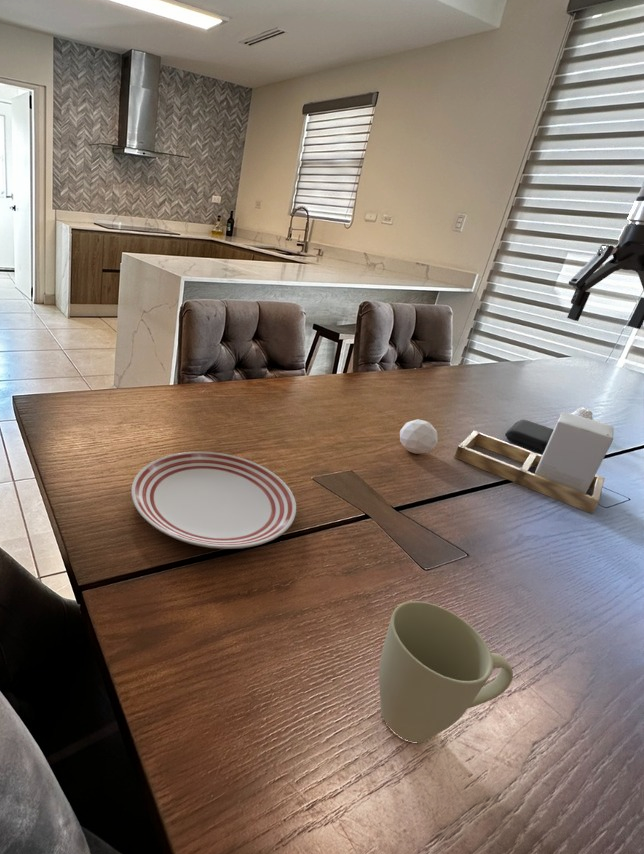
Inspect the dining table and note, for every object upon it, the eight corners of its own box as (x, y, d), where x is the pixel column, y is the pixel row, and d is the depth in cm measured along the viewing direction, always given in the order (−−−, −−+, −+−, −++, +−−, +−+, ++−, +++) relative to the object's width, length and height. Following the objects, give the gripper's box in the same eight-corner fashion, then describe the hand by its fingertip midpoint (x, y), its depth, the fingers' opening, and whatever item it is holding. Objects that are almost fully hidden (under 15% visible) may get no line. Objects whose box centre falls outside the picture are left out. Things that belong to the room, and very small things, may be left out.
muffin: (559, 429, 130) (570, 406, 127) (564, 424, 134) (575, 401, 131) (586, 438, 126) (598, 415, 123) (591, 433, 130) (602, 410, 127)
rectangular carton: (584, 488, 101) (616, 425, 95) (581, 504, 94) (615, 438, 88) (535, 469, 106) (562, 409, 100) (528, 484, 99) (558, 420, 94)
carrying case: (550, 458, 112) (562, 442, 122) (556, 447, 111) (567, 431, 121) (501, 440, 119) (516, 425, 128) (505, 429, 117) (520, 416, 127)
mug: (431, 797, 43) (476, 712, 38) (343, 705, 50) (372, 624, 46) (484, 731, 49) (529, 651, 45) (400, 657, 57) (431, 581, 52)
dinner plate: (99, 489, 81) (100, 473, 79) (216, 450, 98) (218, 435, 96) (203, 594, 62) (206, 575, 61) (325, 523, 79) (330, 506, 78)
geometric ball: (419, 464, 108) (448, 450, 101) (391, 450, 106) (418, 435, 100) (418, 437, 112) (445, 422, 106) (391, 423, 111) (416, 407, 105)
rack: (598, 489, 101) (604, 477, 99) (592, 514, 91) (599, 501, 90) (470, 440, 116) (474, 430, 115) (453, 457, 107) (458, 446, 106)
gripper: (693, 231, 102) (645, 326, 110) (575, 217, 102) (537, 312, 111) (726, 233, 95) (673, 335, 103) (600, 218, 96) (557, 320, 104)
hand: (602, 323), depth 107 cm, fingers open, 13 cm apart
